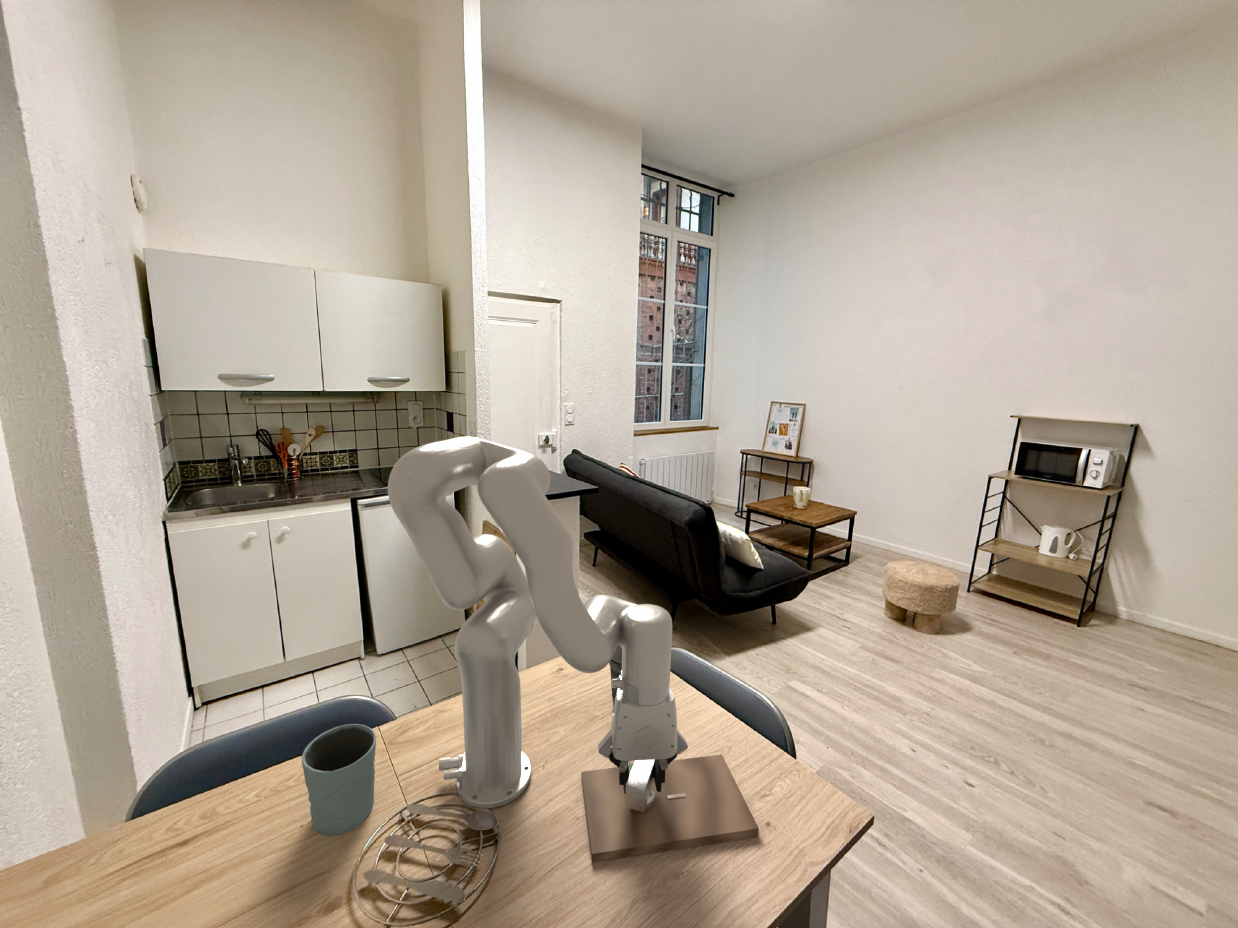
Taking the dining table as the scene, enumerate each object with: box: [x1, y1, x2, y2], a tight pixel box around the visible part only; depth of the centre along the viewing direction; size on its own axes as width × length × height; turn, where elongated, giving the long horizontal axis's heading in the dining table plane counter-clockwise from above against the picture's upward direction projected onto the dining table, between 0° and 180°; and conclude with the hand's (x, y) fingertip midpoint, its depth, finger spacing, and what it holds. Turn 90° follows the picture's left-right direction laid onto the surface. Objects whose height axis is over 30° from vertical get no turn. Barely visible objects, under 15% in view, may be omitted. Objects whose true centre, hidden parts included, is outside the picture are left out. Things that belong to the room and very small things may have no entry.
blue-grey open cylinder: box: [301, 723, 377, 837], centre depth 77 cm, size 10×10×12 cm
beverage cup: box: [608, 645, 622, 706], centre depth 103 cm, size 7×7×20 cm
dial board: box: [580, 754, 760, 863], centre depth 80 cm, size 26×15×2 cm, turn 100°
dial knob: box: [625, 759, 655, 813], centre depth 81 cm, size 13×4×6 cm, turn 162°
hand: (641, 784), depth 79 cm, fingers closed on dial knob, 4 cm apart
